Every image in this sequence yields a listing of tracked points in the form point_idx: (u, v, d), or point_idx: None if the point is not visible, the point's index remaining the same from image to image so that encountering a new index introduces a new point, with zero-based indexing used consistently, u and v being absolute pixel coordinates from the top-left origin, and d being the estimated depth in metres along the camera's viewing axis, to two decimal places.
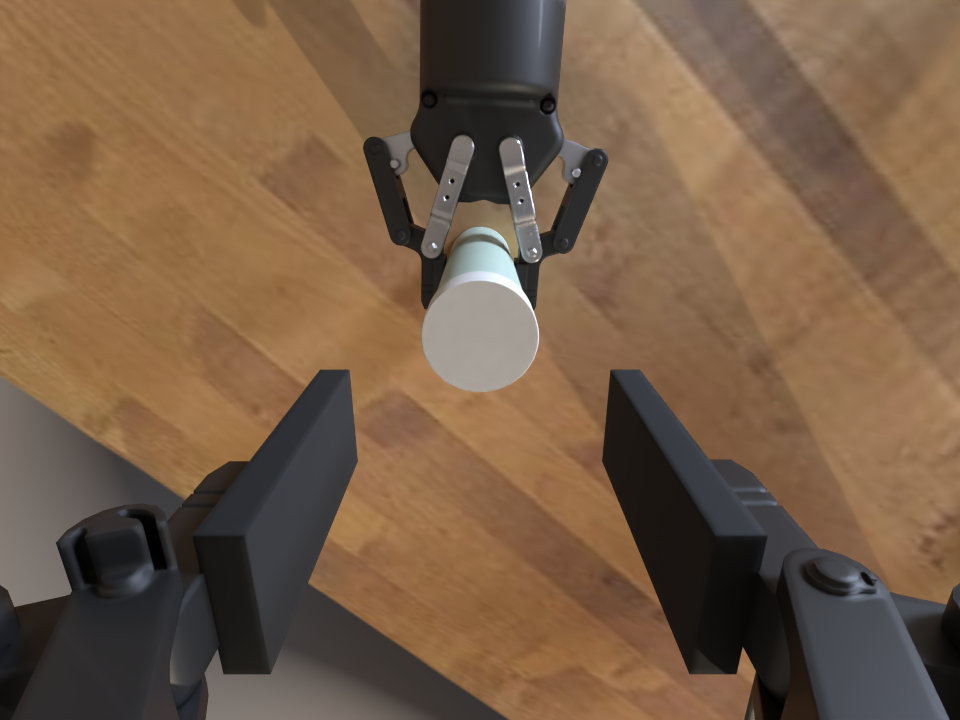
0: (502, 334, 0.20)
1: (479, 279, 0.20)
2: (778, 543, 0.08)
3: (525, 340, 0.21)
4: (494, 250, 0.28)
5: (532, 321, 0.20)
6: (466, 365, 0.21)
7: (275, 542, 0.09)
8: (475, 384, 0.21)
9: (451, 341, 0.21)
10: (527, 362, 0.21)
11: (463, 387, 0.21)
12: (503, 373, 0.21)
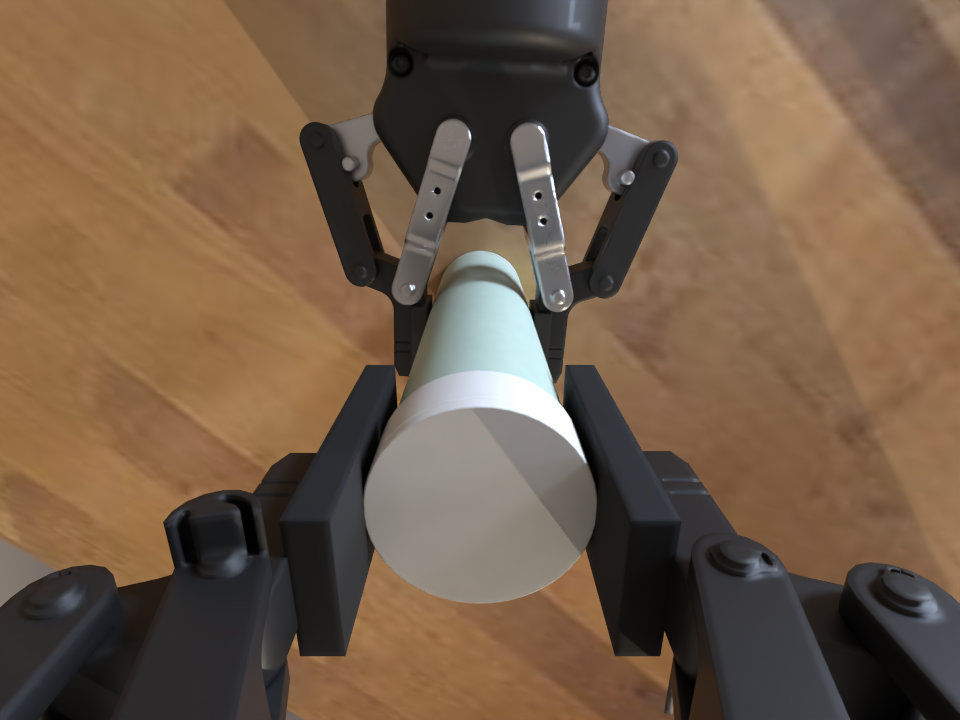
0: (526, 504, 0.10)
1: (479, 403, 0.10)
2: (699, 529, 0.09)
3: (570, 516, 0.10)
4: (502, 299, 0.18)
5: (586, 482, 0.10)
6: (453, 559, 0.11)
7: (348, 528, 0.09)
8: (471, 591, 0.11)
9: (422, 517, 0.10)
10: (573, 553, 0.11)
11: (448, 596, 0.11)
12: (526, 572, 0.11)
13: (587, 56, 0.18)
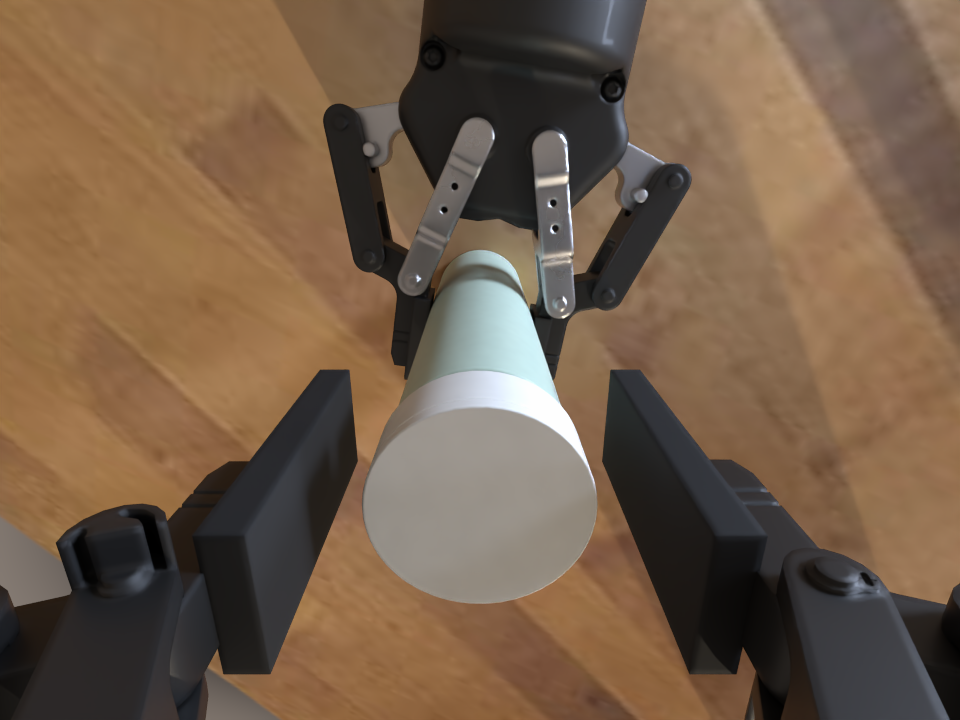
0: (486, 473, 0.10)
1: (367, 475, 0.10)
2: (777, 543, 0.08)
3: (516, 438, 0.10)
4: (508, 300, 0.18)
5: (482, 413, 0.10)
6: (523, 549, 0.11)
7: (274, 541, 0.09)
8: (568, 547, 0.11)
9: (465, 558, 0.11)
10: (565, 447, 0.10)
11: (564, 567, 0.11)
12: (568, 496, 0.10)
13: (616, 73, 0.18)
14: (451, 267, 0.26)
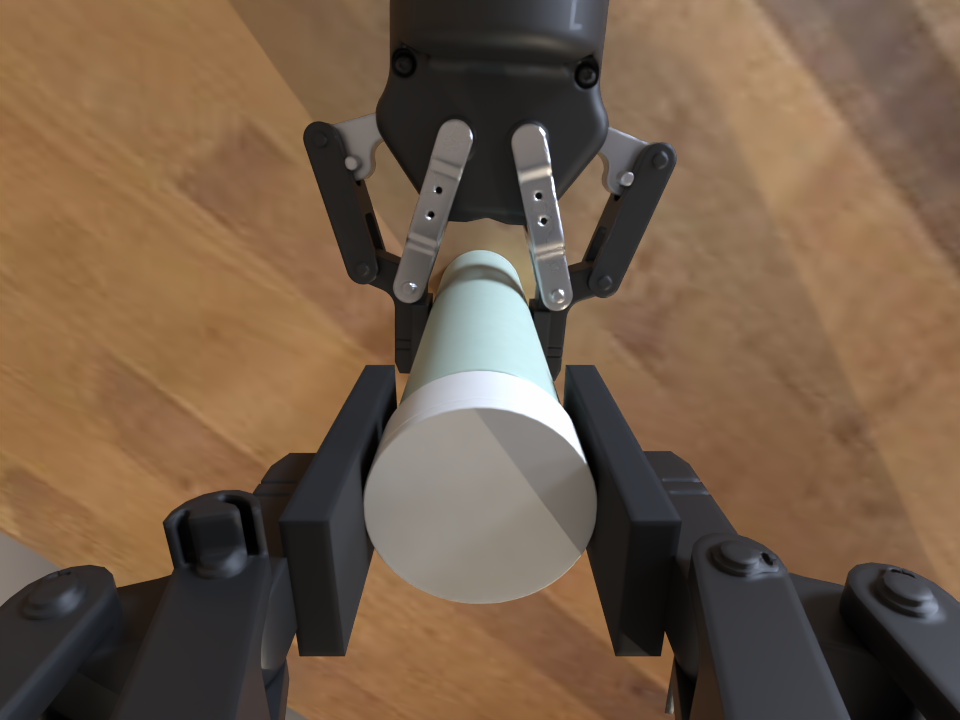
0: (482, 473, 0.10)
1: (365, 486, 0.10)
2: (699, 529, 0.09)
3: (507, 435, 0.10)
4: (503, 298, 0.18)
5: (470, 414, 0.10)
6: (528, 546, 0.11)
7: (347, 528, 0.09)
8: (572, 540, 0.11)
9: (472, 559, 0.11)
10: (557, 440, 0.10)
11: (571, 560, 0.11)
12: (566, 488, 0.10)
13: (588, 58, 0.18)
14: (448, 270, 0.26)
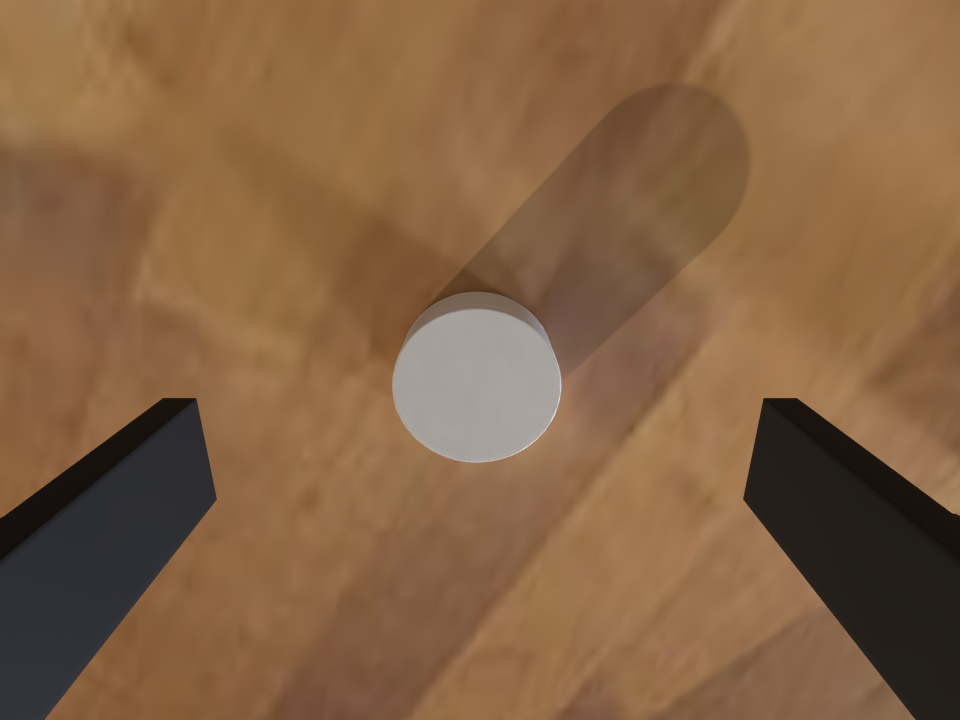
0: (478, 358, 0.14)
1: (394, 369, 0.14)
2: None
3: (496, 329, 0.14)
4: None
5: (469, 314, 0.14)
6: (511, 415, 0.15)
7: None
8: (543, 411, 0.15)
9: (470, 426, 0.15)
10: (531, 333, 0.14)
11: (543, 427, 0.15)
12: (538, 370, 0.14)
13: None
14: None
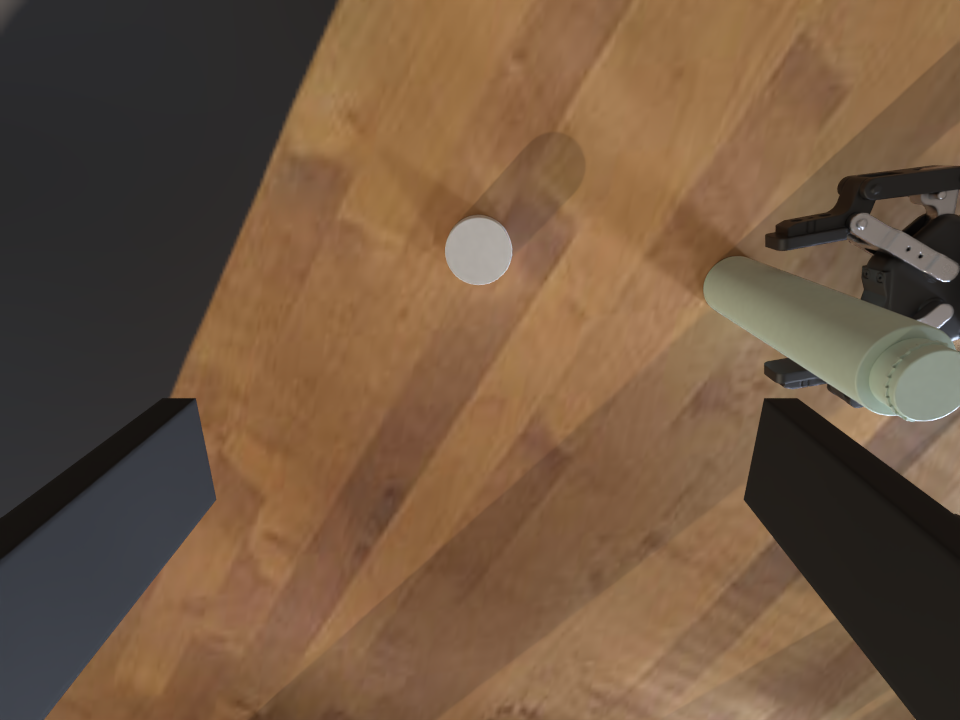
0: (479, 238, 0.36)
1: (446, 243, 0.36)
2: None
3: (486, 226, 0.36)
4: None
5: (475, 219, 0.35)
6: (492, 263, 0.36)
7: None
8: (505, 261, 0.36)
9: (476, 268, 0.37)
10: (499, 228, 0.36)
11: (505, 268, 0.37)
12: (502, 243, 0.36)
13: None
14: None
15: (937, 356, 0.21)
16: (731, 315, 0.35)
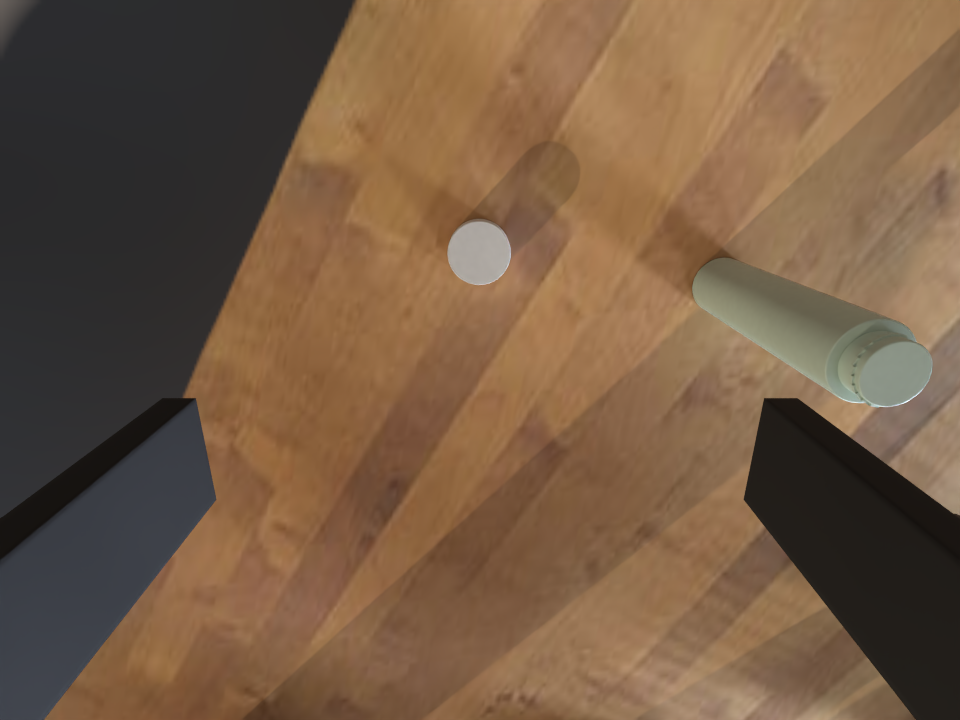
0: (479, 240, 0.38)
1: (448, 245, 0.38)
2: None
3: (486, 229, 0.38)
4: None
5: (476, 223, 0.38)
6: (492, 264, 0.39)
7: None
8: (504, 262, 0.38)
9: (476, 269, 0.39)
10: (499, 231, 0.38)
11: (504, 269, 0.39)
12: (502, 245, 0.38)
13: None
14: None
15: (896, 347, 0.23)
16: (717, 313, 0.37)
